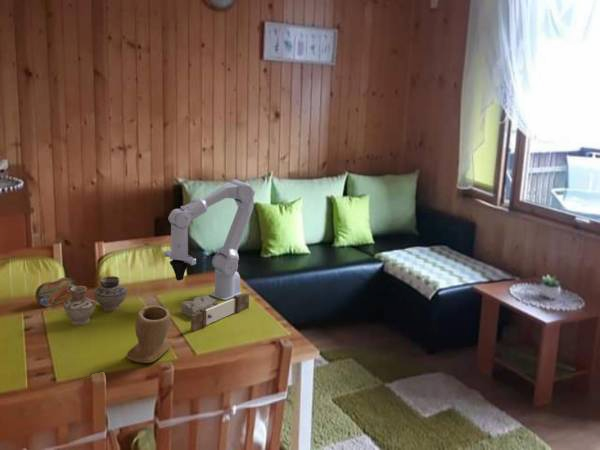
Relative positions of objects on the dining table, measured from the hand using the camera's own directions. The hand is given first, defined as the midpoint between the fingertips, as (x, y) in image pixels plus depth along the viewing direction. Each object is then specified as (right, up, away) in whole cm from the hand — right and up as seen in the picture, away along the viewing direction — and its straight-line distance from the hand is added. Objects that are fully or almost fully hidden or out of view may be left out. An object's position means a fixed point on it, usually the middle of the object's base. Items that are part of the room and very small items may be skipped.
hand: (179, 279), depth 214 cm
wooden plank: (+16, -13, -9) cm, 22 cm away
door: (+16, -12, -9) cm, 22 cm away
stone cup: (-1, -19, -36) cm, 41 cm away
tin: (-44, -8, -1) cm, 44 cm away
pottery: (-26, -11, -9) cm, 30 cm away
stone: (+8, -11, -3) cm, 14 cm away
